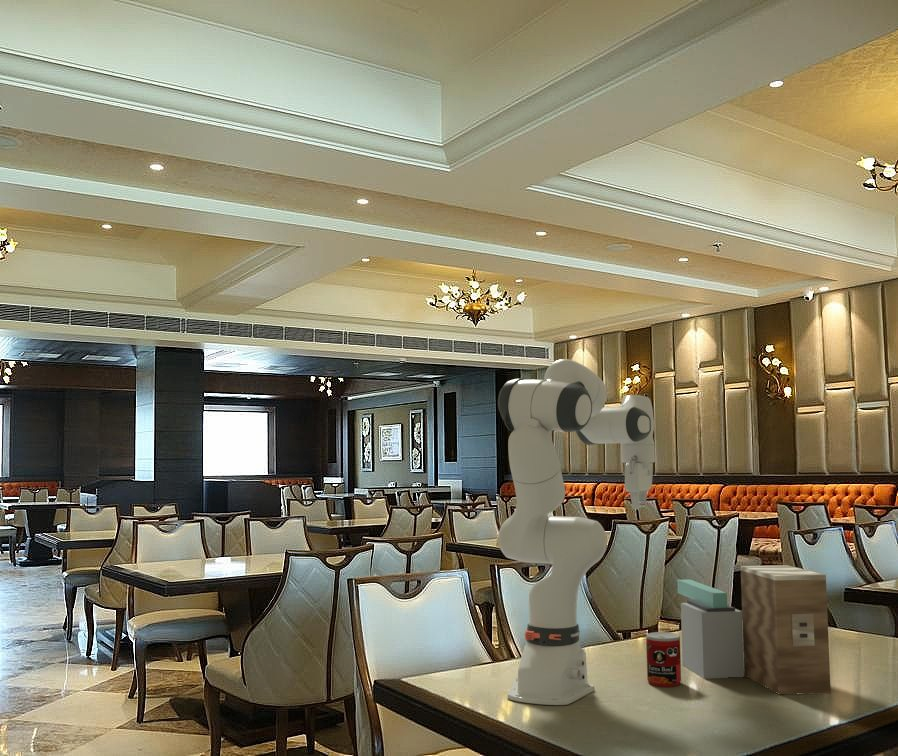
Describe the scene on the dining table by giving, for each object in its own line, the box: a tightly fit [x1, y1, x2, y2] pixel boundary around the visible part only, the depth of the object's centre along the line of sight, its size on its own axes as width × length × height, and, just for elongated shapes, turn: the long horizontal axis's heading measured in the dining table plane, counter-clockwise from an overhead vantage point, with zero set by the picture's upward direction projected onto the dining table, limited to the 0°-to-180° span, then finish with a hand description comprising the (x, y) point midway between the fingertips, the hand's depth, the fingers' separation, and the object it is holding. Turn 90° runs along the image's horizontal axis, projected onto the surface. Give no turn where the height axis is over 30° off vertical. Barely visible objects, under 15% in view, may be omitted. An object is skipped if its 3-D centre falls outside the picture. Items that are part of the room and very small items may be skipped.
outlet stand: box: [740, 564, 832, 695], centre depth 207 cm, size 19×12×26 cm, turn 6°
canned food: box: [645, 631, 682, 688], centre depth 208 cm, size 8×8×11 cm
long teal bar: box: [676, 579, 728, 608], centre depth 227 cm, size 24×4×4 cm, turn 6°
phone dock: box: [680, 599, 745, 680], centre depth 220 cm, size 14×10×16 cm
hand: (639, 508), depth 236 cm, fingers open, 8 cm apart
